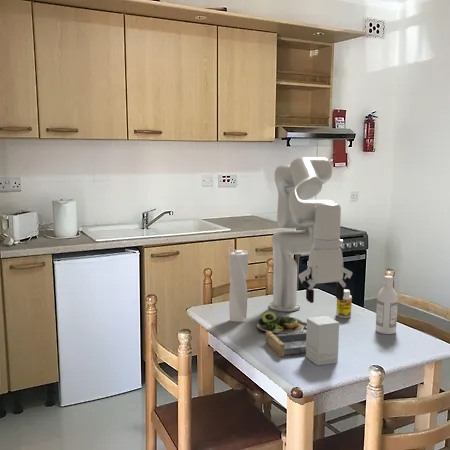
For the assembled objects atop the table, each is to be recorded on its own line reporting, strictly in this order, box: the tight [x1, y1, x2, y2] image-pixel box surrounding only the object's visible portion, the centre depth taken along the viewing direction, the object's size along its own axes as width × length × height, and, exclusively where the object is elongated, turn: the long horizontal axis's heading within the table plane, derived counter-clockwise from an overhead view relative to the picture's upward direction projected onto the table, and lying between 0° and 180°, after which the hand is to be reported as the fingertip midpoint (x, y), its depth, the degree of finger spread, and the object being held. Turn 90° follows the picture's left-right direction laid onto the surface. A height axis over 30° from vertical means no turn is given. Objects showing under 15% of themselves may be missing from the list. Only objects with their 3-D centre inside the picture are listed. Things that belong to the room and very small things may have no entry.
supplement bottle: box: [336, 288, 353, 319], centre depth 194 cm, size 6×6×10 cm
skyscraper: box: [227, 246, 250, 323], centre depth 188 cm, size 8×8×28 cm
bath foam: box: [375, 275, 399, 335], centre depth 177 cm, size 7×7×20 cm
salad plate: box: [256, 310, 307, 335], centre depth 181 cm, size 19×18×5 cm
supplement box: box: [305, 315, 340, 366], centre depth 153 cm, size 7×7×13 cm
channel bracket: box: [265, 331, 307, 358], centre depth 163 cm, size 12×18×4 cm, turn 106°
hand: (324, 300), depth 151 cm, fingers open, 9 cm apart
